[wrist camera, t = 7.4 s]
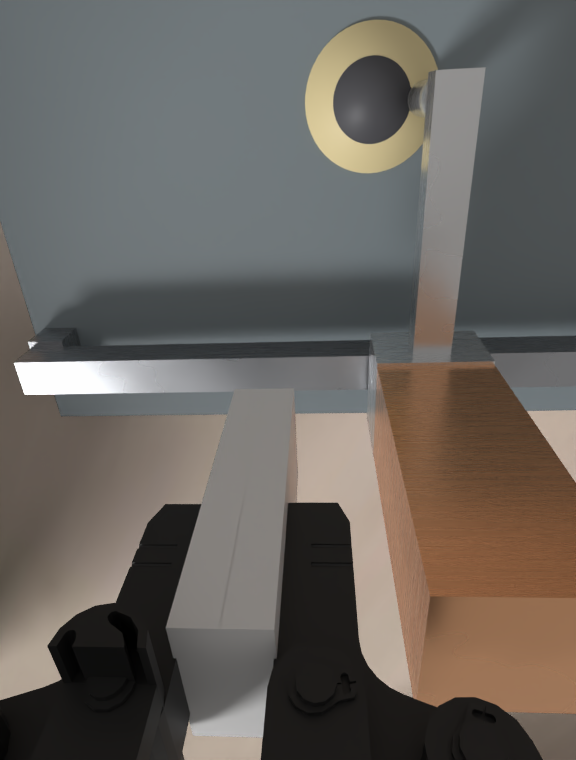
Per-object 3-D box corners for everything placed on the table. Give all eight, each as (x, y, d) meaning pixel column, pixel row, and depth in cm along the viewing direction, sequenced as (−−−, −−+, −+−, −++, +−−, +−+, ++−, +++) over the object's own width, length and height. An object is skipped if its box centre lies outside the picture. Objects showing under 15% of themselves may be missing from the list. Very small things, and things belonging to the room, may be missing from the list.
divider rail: (60, 383, 19) (-9, 458, 15) (-24, 103, 15) (-154, 102, 11) (872, 369, 17) (1044, 451, 13) (1061, 42, 13) (1409, 14, 9)
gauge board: (73, 400, 21) (59, 417, 20) (-48, -16, 14) (-80, -26, 13) (833, 390, 19) (867, 408, 18) (1099, -97, 13) (1179, -118, 11)
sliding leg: (361, 383, 18) (414, 712, 8) (369, 80, 14) (507, 17, 4) (445, 382, 18) (601, 717, 8) (482, 74, 14) (933, -9, 4)
